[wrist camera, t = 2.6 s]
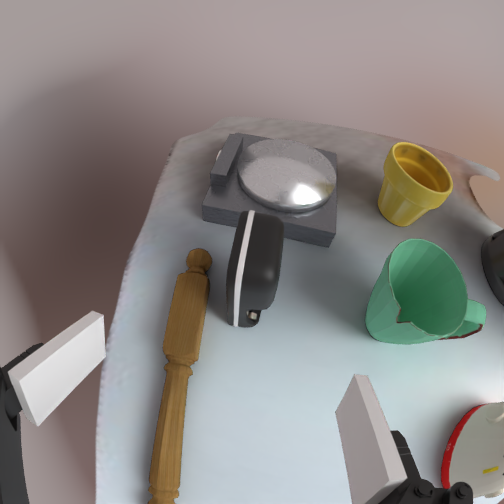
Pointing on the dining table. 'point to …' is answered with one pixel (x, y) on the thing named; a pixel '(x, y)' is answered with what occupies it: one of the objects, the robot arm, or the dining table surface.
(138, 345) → the dining table surface
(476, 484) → the kitchen timer
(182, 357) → the turned wooden baluster
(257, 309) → the battery charger
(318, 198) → the scale
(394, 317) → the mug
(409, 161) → the plant pot
